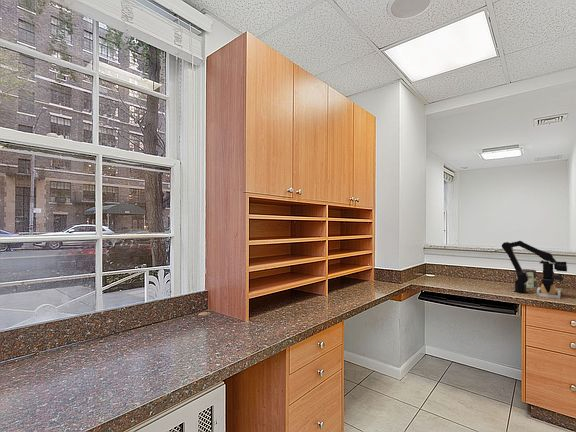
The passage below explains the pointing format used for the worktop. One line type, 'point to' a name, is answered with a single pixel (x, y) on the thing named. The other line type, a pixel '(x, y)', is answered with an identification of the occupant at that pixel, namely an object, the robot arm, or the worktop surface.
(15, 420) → the worktop surface
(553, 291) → the orange stepped block
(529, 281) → the coffee can
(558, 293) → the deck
